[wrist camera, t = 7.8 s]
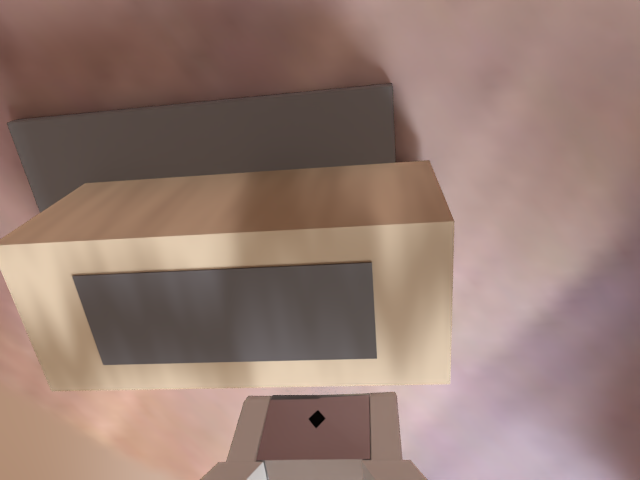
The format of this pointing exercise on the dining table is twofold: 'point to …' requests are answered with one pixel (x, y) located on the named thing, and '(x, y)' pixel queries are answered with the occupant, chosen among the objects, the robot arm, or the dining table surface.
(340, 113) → the mat
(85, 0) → the dining table surface
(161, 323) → the birch block
